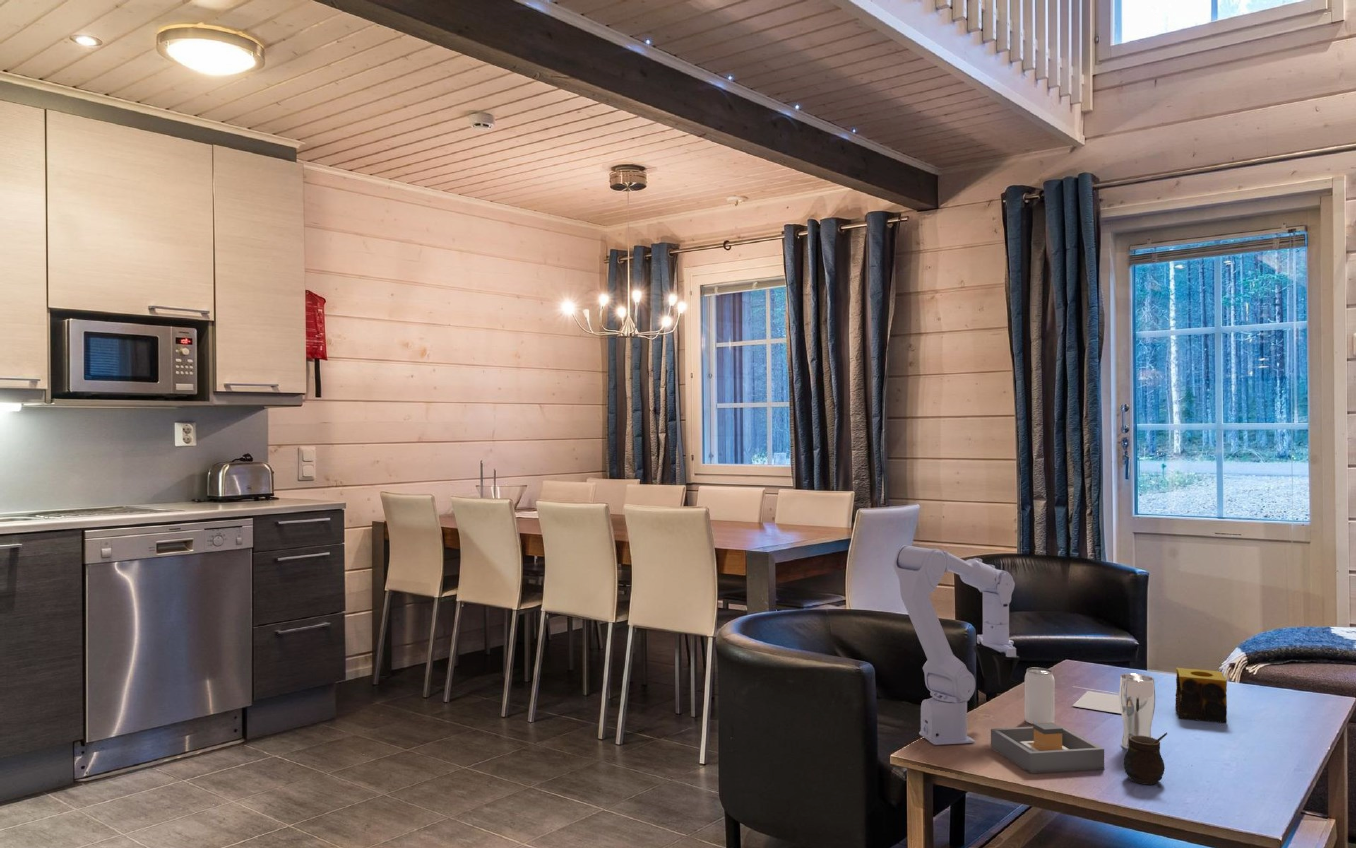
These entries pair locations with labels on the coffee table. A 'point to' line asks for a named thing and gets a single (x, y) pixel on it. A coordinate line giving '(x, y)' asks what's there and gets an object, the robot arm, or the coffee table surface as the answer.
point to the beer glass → (1136, 705)
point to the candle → (1201, 695)
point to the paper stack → (1099, 701)
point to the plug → (1047, 736)
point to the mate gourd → (1144, 759)
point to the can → (1039, 696)
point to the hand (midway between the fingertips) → (996, 681)
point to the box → (1071, 757)
